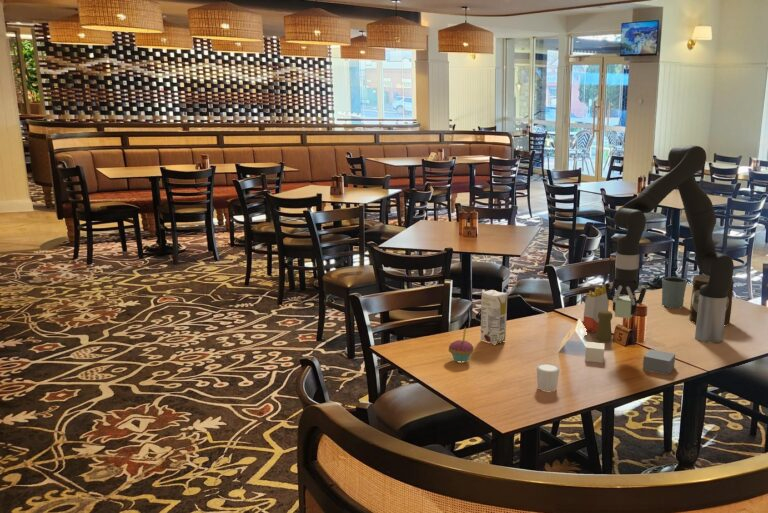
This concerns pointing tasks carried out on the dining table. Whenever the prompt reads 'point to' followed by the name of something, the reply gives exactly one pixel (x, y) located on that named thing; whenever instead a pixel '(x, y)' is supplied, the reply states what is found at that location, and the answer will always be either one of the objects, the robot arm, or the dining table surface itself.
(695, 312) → the wooden container
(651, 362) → the slate block
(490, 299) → the juice carton
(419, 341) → the dining table surface
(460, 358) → the cupcake
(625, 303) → the sage block
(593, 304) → the french fries container
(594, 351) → the cream block
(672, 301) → the green tapered bucket
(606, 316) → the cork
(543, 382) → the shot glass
